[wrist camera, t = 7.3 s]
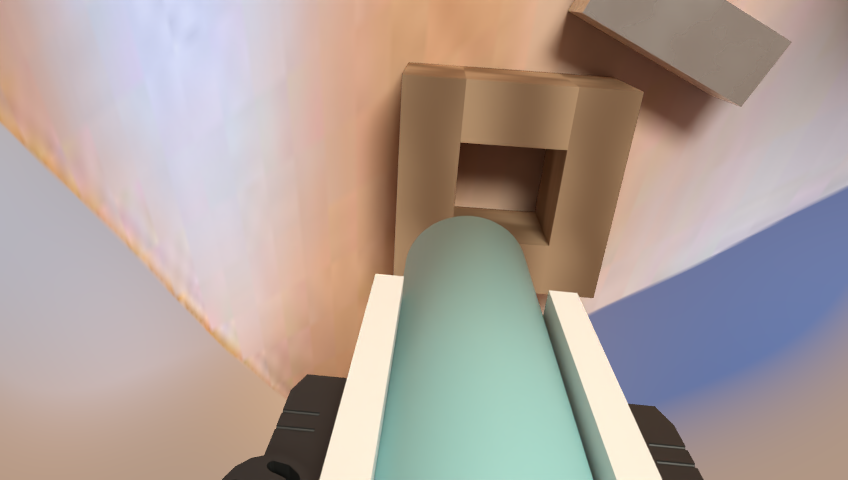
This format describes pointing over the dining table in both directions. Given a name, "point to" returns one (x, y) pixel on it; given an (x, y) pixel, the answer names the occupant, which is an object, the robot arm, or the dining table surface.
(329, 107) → the dining table surface
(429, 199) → the socket block
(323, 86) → the dining table surface
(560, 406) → the peg
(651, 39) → the grey bar
